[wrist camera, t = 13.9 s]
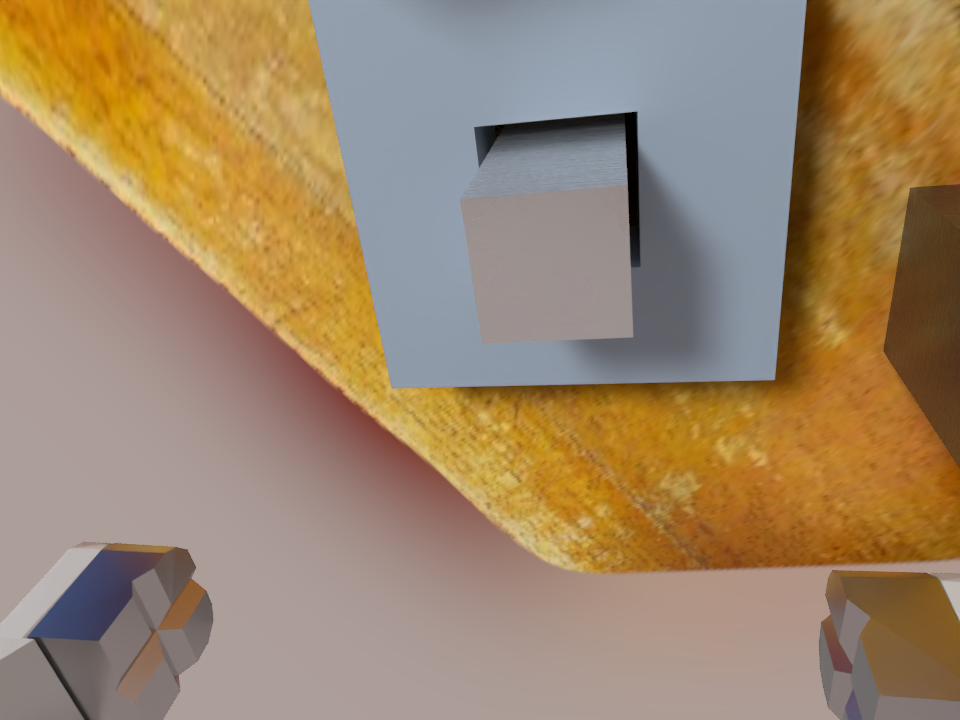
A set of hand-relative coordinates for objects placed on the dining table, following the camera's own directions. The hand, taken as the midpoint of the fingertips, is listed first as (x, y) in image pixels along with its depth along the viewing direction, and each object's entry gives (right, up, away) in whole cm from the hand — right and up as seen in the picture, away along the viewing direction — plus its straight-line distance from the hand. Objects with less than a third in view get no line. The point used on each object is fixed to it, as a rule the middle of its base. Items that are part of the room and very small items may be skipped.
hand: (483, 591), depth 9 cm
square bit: (+3, +10, +18) cm, 21 cm away
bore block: (+3, +10, +18) cm, 21 cm away
